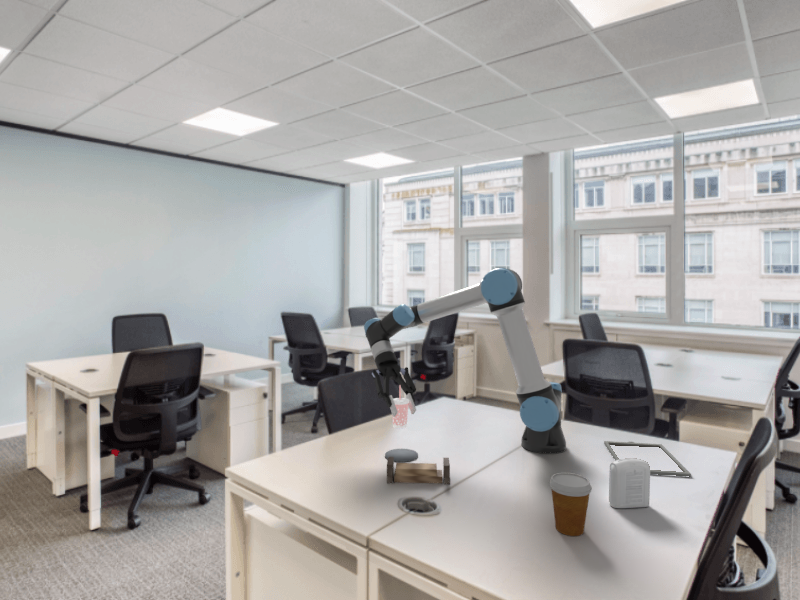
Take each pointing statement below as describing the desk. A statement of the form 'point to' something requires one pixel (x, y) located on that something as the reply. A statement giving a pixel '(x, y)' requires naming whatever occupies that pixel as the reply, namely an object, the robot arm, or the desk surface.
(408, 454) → the mat
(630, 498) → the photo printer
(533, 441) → the robot arm
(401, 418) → the beverage cup
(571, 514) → the disposable coffee cup
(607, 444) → the grey rectangular frame
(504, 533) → the desk surface
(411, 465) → the offcut rack
